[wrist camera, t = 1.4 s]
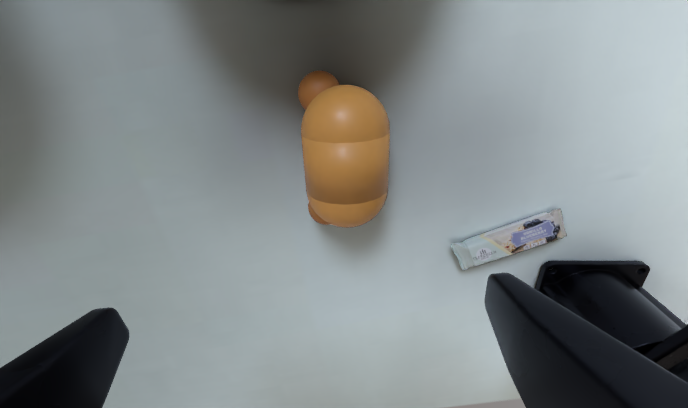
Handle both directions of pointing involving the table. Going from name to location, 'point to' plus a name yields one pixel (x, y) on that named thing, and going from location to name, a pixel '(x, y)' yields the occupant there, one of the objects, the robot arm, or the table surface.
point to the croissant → (343, 151)
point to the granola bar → (510, 239)
